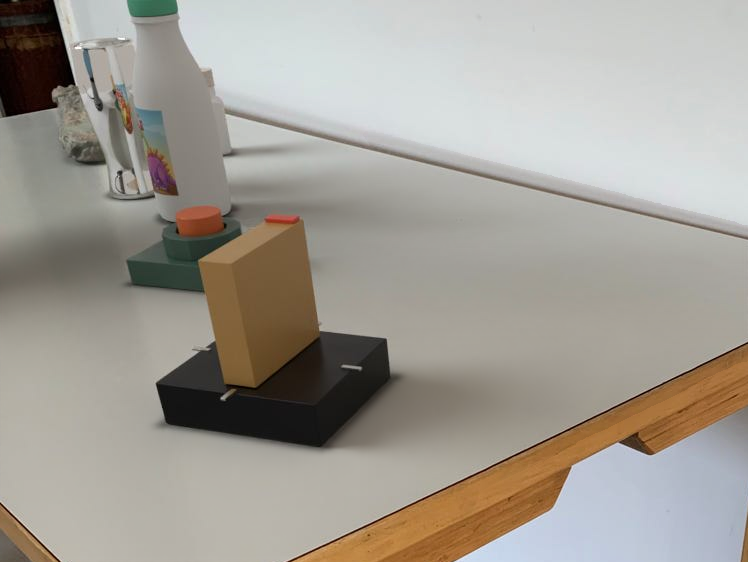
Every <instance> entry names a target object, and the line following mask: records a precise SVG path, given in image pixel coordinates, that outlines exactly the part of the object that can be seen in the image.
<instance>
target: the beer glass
mask: <svg viewBox="0 0 748 562" xmlns="http://www.w3.org/2000/svg"><path fill="white" fill-rule="evenodd" d="M69 48H70V54H71V59H72V64H73V65H72V66H73V69H74V75H75V79H76V84H77V86H78V88H79V92H80V95H81V99H82V102H83V105H84V108H85V110H86V113H87V116H88V118H89V121H90V123H91V125H92V128H93V130H94V132H95V135H96V137H97V139H98V142H99V144H100V146H101V149H102V151H103V154H104V157H105V160H106V161H105V164H106V169H107V175H108V187H109V194H110V196H111V197H112V198H114V199H119V200H137V199H144V198H149V197H153V196H155V193H154V189H153V185H152V181H151V176H150V172H149V168H148V164H147V159H146V155H145V151H144V146H143V142H142V137H141V133H140V129H139V124H138V120H137V115H136V110H135V104H134V99H133V91H132V77H133V69H134V63H135V57H136V48H135V44H134V40H133V39H132V38H129V37H102V38H101V37H100V38H92V39H84V40H79V41H75V42H72V43H70V44H69Z"/></svg>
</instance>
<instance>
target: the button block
mask: <svg viewBox="0 0 748 562" xmlns="http://www.w3.org/2000/svg"><path fill="white" fill-rule="evenodd" d="M222 220H223V225H224V229H223V230H222V231H220V232H217V233H213V234H209V235H202V236H184V235H180V234H179V230H178V226H177V222H172V223H171V224H169V225H166V226H165V227H163V228H162V233H161V238H162V240H160V241H158V242H156V243H154V244H152V245H150V246H149V247H146V248H144V249H143V250H141V251H140V252H137V253H136V254H134V255H132V256H130V257H128V258H126V259H125V262H126V266H127V269H128V273H129V277H130V280H131V284H132V285H139V286H148V287H150V286H151V287H157V288H158V287H160V288H169V289H177V290H187V291H198V292H205V290H204V286H203V281H202V277H201V272H200V267H199V263H198V260H200V259H201V258H203V257H205V256H206V255H208V254H210V253H212V252H213V251H215V250H217V249H218V248H220V247H222V246H224V245H225V244H227V243H229V242H230V241H232V240H234V239H236V238H237V237H239V236H241V235H242V234H243V230H242V226H241V221H240V220H237V219H235V218H232V217H228V216H222Z"/></svg>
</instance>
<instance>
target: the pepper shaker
mask: <svg viewBox="0 0 748 562" xmlns="http://www.w3.org/2000/svg"><path fill="white" fill-rule="evenodd" d="M200 69H201V71H202V73H203V75H204V78H205V80H206V83H207V86H208V89H209V92H210V97H211V101H212V106H213V110H214V115H215V120H216V125H217V130H218V135H219V140H220V145H221V150H222V156H225V155H228V154H231V153H232V144H231V139H230V132H229V127H228V122H227V117H226V111H225V106H224V102H223V100H222V99H221V97H219V96H217V94H216V89H215V86H216V85H215V80H214V76H213V75H214V74H213V70H212V68H211V67H200Z"/></svg>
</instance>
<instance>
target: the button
mask: <svg viewBox="0 0 748 562" xmlns="http://www.w3.org/2000/svg"><path fill="white" fill-rule="evenodd" d="M175 217H176V221H177V226H178V230H179V234H180V235H184V236H202V235H209V234H213V233H217V232H220V231H222V230H223V229H224V225H223V220H222V217H223V216H222V215H221V210H220V209H219V208H217V207H213V206H196V207H190V208H186V209H183V210H180V211H178V212H177V213H176V214H175Z"/></svg>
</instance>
